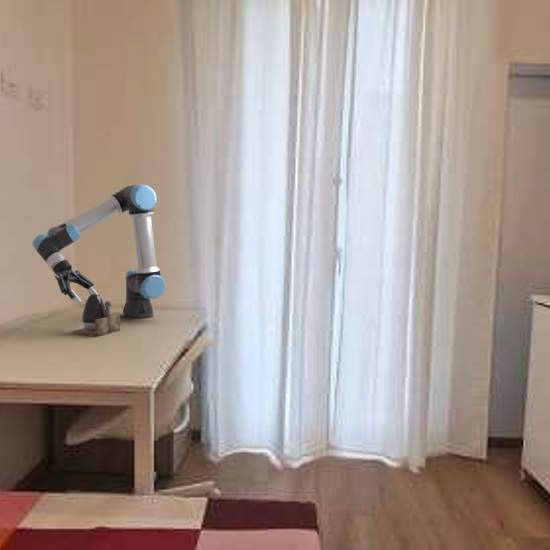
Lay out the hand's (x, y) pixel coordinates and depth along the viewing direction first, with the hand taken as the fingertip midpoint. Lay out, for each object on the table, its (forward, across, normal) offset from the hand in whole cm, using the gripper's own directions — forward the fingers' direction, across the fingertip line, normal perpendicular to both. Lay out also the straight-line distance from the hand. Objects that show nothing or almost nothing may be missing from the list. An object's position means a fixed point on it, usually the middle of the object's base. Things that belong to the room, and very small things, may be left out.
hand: (89, 301), depth 277 cm
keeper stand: (+12, 0, -7) cm, 14 cm away
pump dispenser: (+10, 0, -7) cm, 12 cm away
